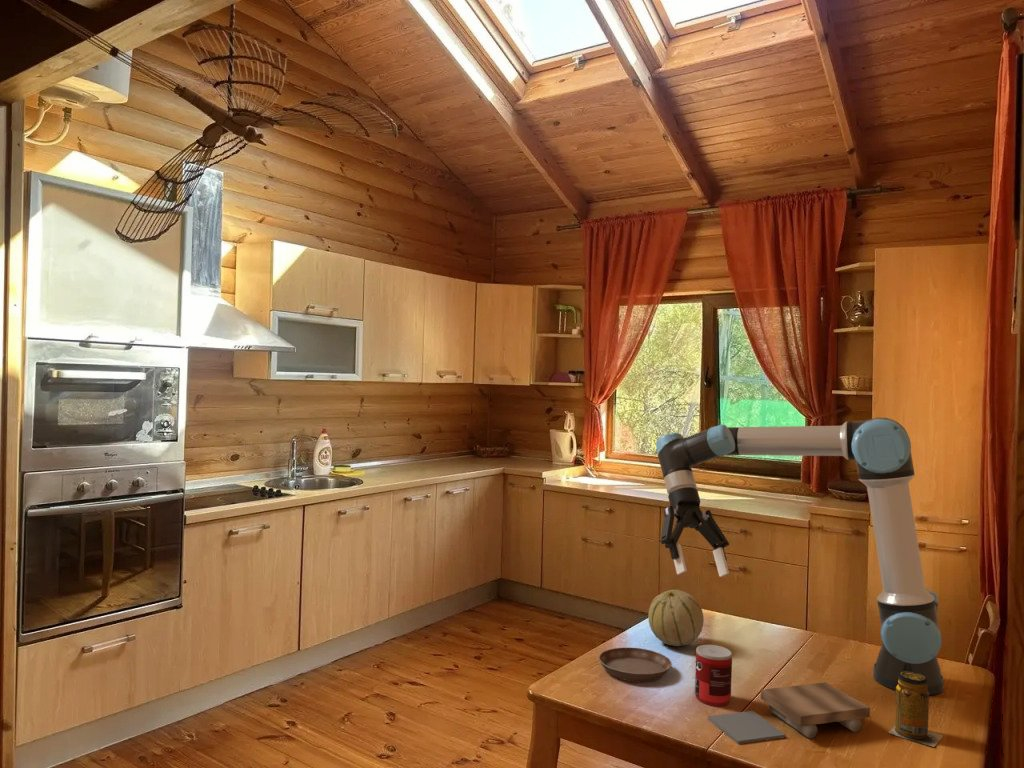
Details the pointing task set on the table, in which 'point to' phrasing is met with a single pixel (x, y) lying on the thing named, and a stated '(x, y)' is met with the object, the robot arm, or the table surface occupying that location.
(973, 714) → the table surface
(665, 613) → the cantaloupe
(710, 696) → the canned food
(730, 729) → the rubber mat
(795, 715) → the walnut slab
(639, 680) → the plant saucer
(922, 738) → the condiment
